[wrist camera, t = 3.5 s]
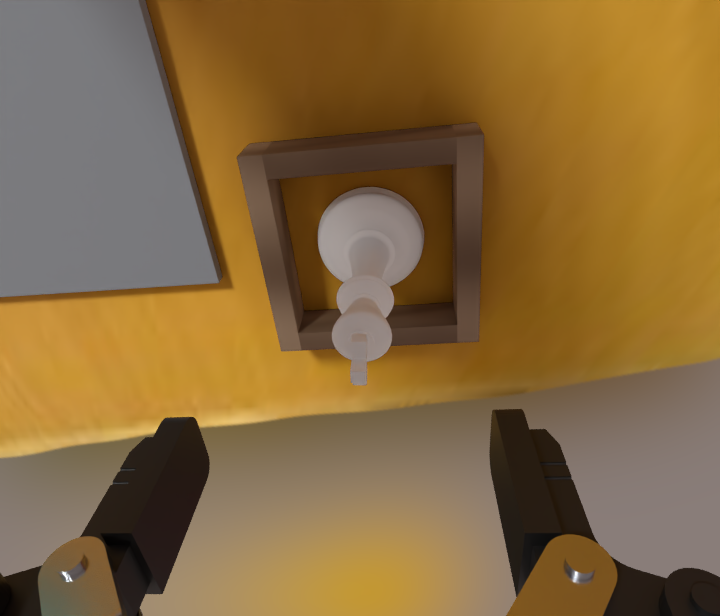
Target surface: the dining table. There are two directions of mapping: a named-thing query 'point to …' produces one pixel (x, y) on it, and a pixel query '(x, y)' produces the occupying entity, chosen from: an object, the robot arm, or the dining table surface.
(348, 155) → the square frame
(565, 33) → the dining table surface
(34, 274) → the mat
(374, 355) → the chess piece
